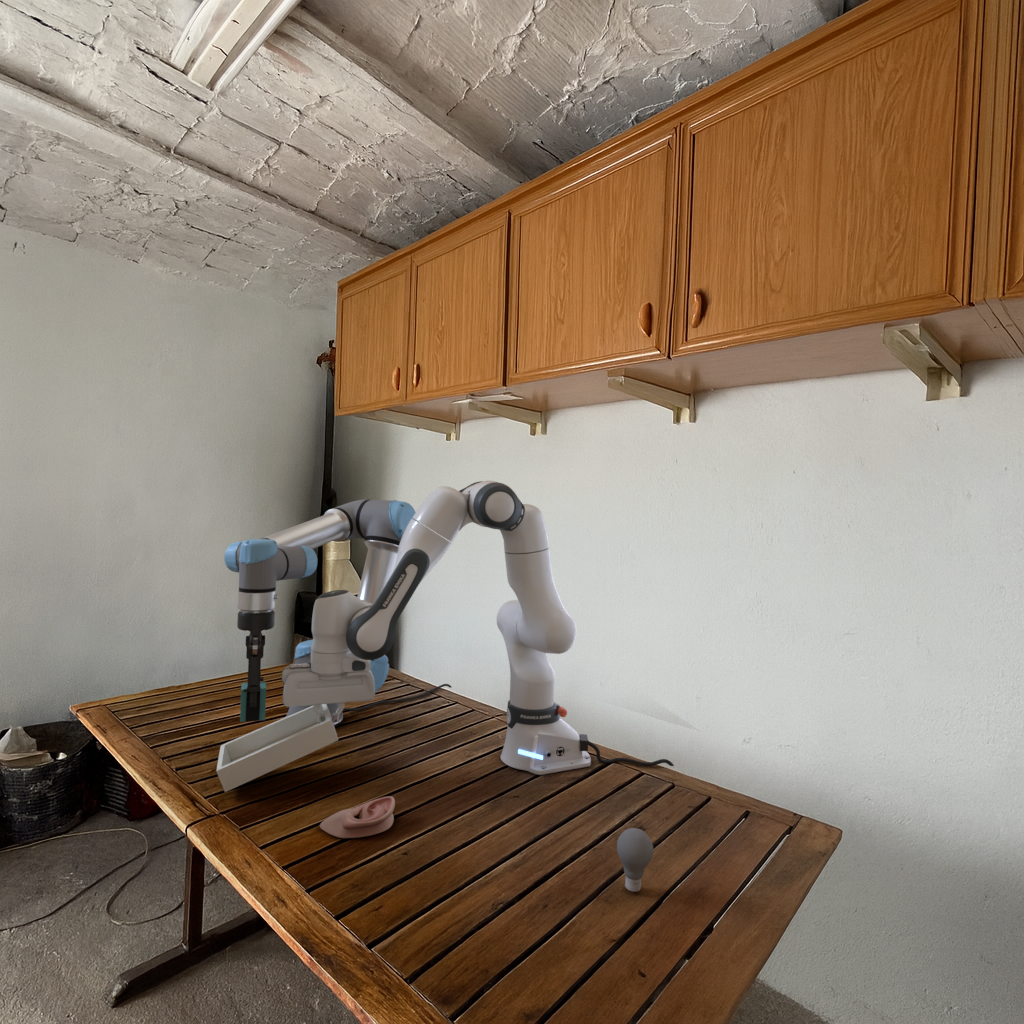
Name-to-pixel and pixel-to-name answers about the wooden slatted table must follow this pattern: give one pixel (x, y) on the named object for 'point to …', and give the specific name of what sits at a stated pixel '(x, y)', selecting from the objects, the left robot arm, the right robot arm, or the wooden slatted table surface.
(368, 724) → the wooden slatted table surface
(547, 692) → the right robot arm
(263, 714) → the block
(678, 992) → the wooden slatted table surface
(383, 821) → the anatomical model
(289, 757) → the tray
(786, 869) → the wooden slatted table surface
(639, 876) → the light bulb
